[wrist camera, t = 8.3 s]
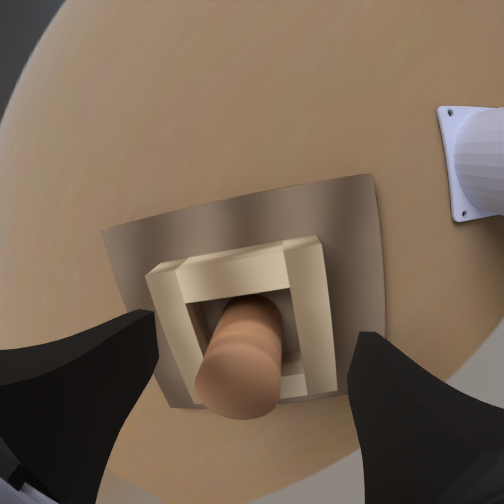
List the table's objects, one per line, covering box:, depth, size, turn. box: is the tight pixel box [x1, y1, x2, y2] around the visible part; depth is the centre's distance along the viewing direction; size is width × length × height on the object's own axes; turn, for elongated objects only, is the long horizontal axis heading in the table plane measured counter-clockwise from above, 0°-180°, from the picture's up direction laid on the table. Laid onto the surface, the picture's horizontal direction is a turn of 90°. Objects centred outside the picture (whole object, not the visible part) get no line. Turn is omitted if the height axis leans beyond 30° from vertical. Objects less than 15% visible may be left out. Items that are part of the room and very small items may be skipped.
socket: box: [101, 174, 385, 408], centre depth 18 cm, size 18×16×4 cm
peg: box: [194, 294, 282, 420], centre depth 16 cm, size 4×4×7 cm
